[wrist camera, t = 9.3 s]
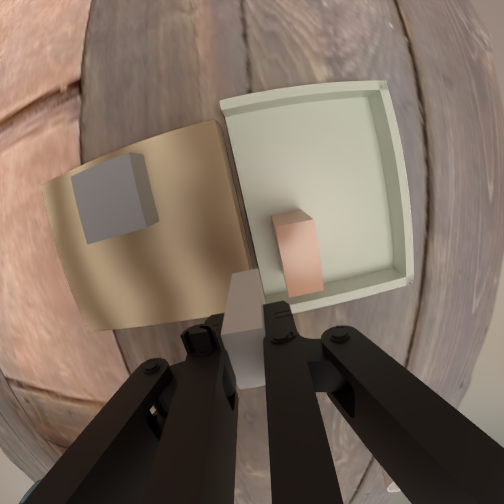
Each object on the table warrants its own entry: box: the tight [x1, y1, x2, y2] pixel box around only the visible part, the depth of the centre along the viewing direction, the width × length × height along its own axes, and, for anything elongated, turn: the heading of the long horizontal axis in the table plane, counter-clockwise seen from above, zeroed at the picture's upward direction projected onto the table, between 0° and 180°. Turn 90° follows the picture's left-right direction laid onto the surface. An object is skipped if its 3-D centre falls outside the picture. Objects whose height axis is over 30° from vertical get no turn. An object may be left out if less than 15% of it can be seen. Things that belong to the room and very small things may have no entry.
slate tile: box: [71, 152, 159, 245], centre depth 18 cm, size 5×5×2 cm
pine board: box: [41, 119, 253, 332], centre depth 22 cm, size 16×14×4 cm
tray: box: [219, 81, 414, 314], centre depth 21 cm, size 13×17×3 cm
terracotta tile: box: [271, 209, 324, 298], centre depth 21 cm, size 5×5×2 cm
